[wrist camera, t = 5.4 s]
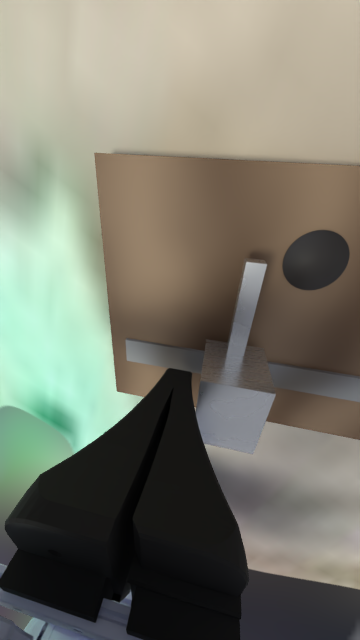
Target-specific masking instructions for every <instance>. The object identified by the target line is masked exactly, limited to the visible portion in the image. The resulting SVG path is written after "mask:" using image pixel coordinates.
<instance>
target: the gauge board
mask: <svg viewBox="0 0 360 640" xmlns="http://www.w3.org/2000/svg"><path fill="white" fill-rule="evenodd" d="M94 154H95V165H96V175H97V186H98V196H99V207H100V218H101V228H102V239H103V249H104V260H105V271H106V281H107V292H108V302H109V313H110V324H111V334H112V345H113V355H114V366H115V376H116V387H117V391H118V392H123V393H128V394H133V395H138V396H143V397H145V396H146V395H147V394H148V393H149V392H150V390H151V389H152V388H153V387H154V386H155V385H156V383H157V382H158V381H159V380H160V378H161V377H162V376H163V374H164V373H165V371H166V370H167V369H168V368H173V369H179V370H184V371H190V372H191V373H192V395H193V402H194V407H196V406H197V399H198V392H199V386H200V379H201V372H202V365H203V359H204V352H205V345H206V339H208V340H214V341H220V342H228V337H229V332H230V327H231V323H232V318H233V313H234V308H235V303H236V298H237V293H238V288H239V284H240V279H241V274H242V269H243V264H244V259H245V258H251V259H261V260H265V262H266V263H267V267H266V271H265V275H264V279H263V282H262V286H261V290H260V294H259V298H258V302H257V306H256V310H255V314H254V318H253V321H252V325H251V329H250V333H249V337H248V341H247V345H246V346H252V347H258V348H264V351H265V355H266V359H267V363H268V366H269V370H270V374H271V378H272V381H273V385H274V389H275V393H276V396H275V398H274V401H273V403H272V406H271V409H270V411H269V414H268V416H267V419H266V421H268V422H273V423H278V424H283V425H288V426H293V427H298V428H303V429H308V430H313V431H318V432H323V433H328V434H333V435H338V436H343V437H348V438H353V439H358V440H360V166H349V165H329V164H308V163H288V162H268V161H248V160H228V159H207V158H187V157H167V156H147V155H126V154H106V153H94Z"/></svg>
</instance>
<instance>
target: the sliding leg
mask: <svg viewBox="0 0 360 640" xmlns="http://www.w3.org/2000/svg"><path fill="white" fill-rule="evenodd" d="M266 267H267V263H266V262H265V260H261V259H251V258H245V259H244V264H243V269H242V274H241V279H240V284H239V288H238V293H237V298H236V303H235V308H234V313H233V318H232V323H231V327H230V332H229V337H228V342H220V341H214V340H208V339H206V345H205V352H204V359H203V365H202V372H201V379H200V386H199V392H198V399H197V406H196V417H197V422H198V426H199V429H200V433H201V436H202V440H203V443H204V444H209V445H214V446H218V447H223V448H227V449H232V450H236V451H241V452H245V453H250V454H253V453H254V450H255V448H256V445H257V443H258V440H259V437H260V435H261V432H262V429H263V427H264V424H265V422H266V419H267V416H268V414H269V411H270V409H271V406H272V403H273V401H274V398H275V396H276V393H275V389H274V385H273V381H272V378H271V374H270V370H269V366H268V363H267V359H266V355H265V351H264V348H258V347H252V346H246V345H247V341H248V337H249V333H250V329H251V325H252V321H253V318H254V314H255V310H256V306H257V302H258V298H259V294H260V290H261V286H262V282H263V279H264V275H265V271H266Z"/></svg>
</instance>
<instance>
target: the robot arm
mask: <svg viewBox="0 0 360 640" xmlns="http://www.w3.org/2000/svg"><path fill="white" fill-rule="evenodd" d="M5 530H6V532H7V534H8V535H9V537H10V538H11V539H12V541H13V542H14V543H15V545H16V546H17V548H18V550H17V552H16V553H15V555H14V557H13V558H12V560H11V561H10V563H9V565H8V566H5V565H3V564H0V605H1V606H4V607H6V608H9V609H12V610H15V611H18V612H20V613H23V614H26V615H29V616H32V617H33V618H32V619H31V620H30V622H29V623H28V625H27V626H26V628H25V629H24V631H23V630H22V629H20V628H19V627H18V626H16V625H15V624H14V622H13V621H11V620H9V619H7V618H4V617H2V616H0V640H240V623H239V619H241V593H242V592H243V590H244V589H245V587H246V586H247V585H248V581H249V575H248V567H247V560H246V555H245V550H244V546H243V542H242V538H241V534H240V531H239V527H238V524H237V521H236V519H235V517H234V515H233V513H232V511H231V509H230V507H229V505H228V503H227V501H226V499H225V496H224V494H223V492H222V490H221V487H220V485H219V483H218V480H217V478H216V475H215V473H214V470H213V468H212V465H211V463H210V460H209V457H208V455H207V452H206V449H205V446H204V443H203V440H202V436H201V433H200V429H199V426H198V422H197V417H196V413H195V408H194V402H193V395H192V373H191V372H190V371H184V370H179V369H173V368H168V369H167V370H166V371H165V373H164V374H163V376H162V377H161V378H160V380H159V381H158V382H157V383H156V385H155V386H154V387H153V388H152V389H151V390H150V392H149V393H148V394H147V395H146V396H145V397H144V398H143V399H142V400H141V401H140V402H139V403H138V404H137V405H136V406H135V407H134V408H133V409H132V410H131V411H130V412H129V413H128V414H127V415H126V416H125V417H124V418H123V419H121V420H120V421H119V422H118V423H117V424H115V425H114V426H113V427H112V428H110V429H109V430H108V431H107V432H105V433H104V434H103V435H101V436H100V437H99V438H97V439H96V440H95V441H93V442H92V443H90V444H89V445H87V446H86V447H84V448H83V449H81V450H80V451H78V452H77V453H75V454H74V455H72V456H71V457H69V458H67V459H66V460H64V461H62V462H61V463H59V464H58V465H56V466H54V467H52V468H51V469H49V470H47V471H45V472H44V473H42V474H40V476H39V477H38V478H37V479H36V481H35V482H34V483H33V484H32V485H31V486H30V488H29V489H28V490H27V491H26V493H25V494H24V496H23V497H22V498H21V500H20V501H19V503H18V504H17V506H16V507H15V508H14V510H13V511H12V513H11V514H10V516H9V517H8V519H7V520H6V521H5Z"/></svg>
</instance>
